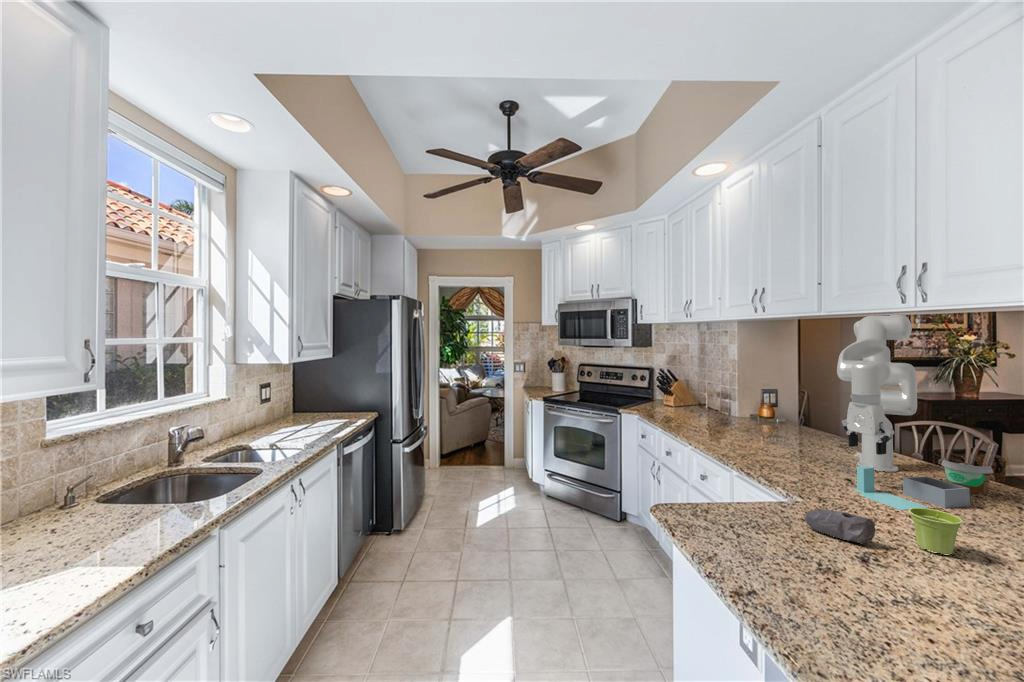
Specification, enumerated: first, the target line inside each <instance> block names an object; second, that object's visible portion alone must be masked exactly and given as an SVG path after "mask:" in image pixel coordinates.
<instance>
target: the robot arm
mask: <svg viewBox="0 0 1024 682" xmlns="http://www.w3.org/2000/svg"><path fill="white" fill-rule="evenodd" d="M889 315H890V316H873V315H868V316H865V317H863V318H861V319H860V320H858V321H856V322H854V324H853V333H854V335H855V337H856V341H855V342H853V343H851V344H849V345H848V346H846V347H845V348H844V349H843V350H842V351H841V352H840V354H839V356H838V361H837V365H836V366H837V367H836V374H837V376H838V379H840V380H841V381H843V382H851V393H850V395H849V397H850V399H851V401H850V402H849V404H848V408H847V414H846V418H845V419H842V420H841V425H842V426H843V429H844V430H845V433H846V435H847V436H848V437H847V438H848V439H847V442H848V447H850V448H851V447H852V448H853V447H858V446H859V436H858V434H861V452H859V451H858V452H856V453H855V454H854V456H853V457H854V458H858V459H859V460H858V461H857V463H856V464H857V467H858V466H869V467H872V468H874V471H875V470H876V471H875V472H883V471H885V472H886V473H894V472H898V471H899V467H898V466H897V465H894V444H893V443H894V437H893V436H894V435H895V431H894V428H893V424H892V422H891V421H890V420H889V419H888V418H887V417H886V415H898V416H913V415H914V414H916V412H917V410H918V386H917V385H918V382H917V381H918V380H917V371H916V369H915V367H914V366H913V365H912V364H910V363H906V362H891V350H890V348H889V346H887V340H888V341H890V340H891V341H893V340H894V341H895V340H896V341H897V340H899V341H901V340H905V341H906V340H907V339H909V338H910V337H911V334H912V331H913V330H912V329H913V327H912V323H911V320H910V319H909V317H908V316H906V315H904V314H889ZM861 359H862V360H861ZM881 387H893V388H899V389H900V390H898V389H897V390H895V389H894V390H893V389H882V388H881Z"/></svg>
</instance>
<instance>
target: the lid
mask: <svg viewBox="0 0 1024 682" xmlns="http://www.w3.org/2000/svg"><path fill="white" fill-rule="evenodd" d="M853 491H855V492H858V493H859V496H862V497H863V498H866V499H869V500H872V501H875V502H877V503H880V504H883V505H886V506H888V507H891V508H892V509H895V510H898V511H909V509H910V508H926V509H930V507H929V506H926V505H923V504H919V503H918V502H914V501H911V500H909V499H905V498H902V497H900V496H898V495H894V494H891V493H888V492H878V491H875V470H874V468H872V467H869V466H858V465H857V466H856V488H854V489H853ZM860 493H861V494H860Z"/></svg>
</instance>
